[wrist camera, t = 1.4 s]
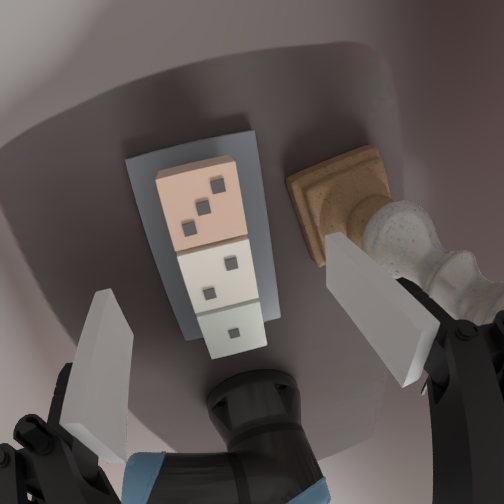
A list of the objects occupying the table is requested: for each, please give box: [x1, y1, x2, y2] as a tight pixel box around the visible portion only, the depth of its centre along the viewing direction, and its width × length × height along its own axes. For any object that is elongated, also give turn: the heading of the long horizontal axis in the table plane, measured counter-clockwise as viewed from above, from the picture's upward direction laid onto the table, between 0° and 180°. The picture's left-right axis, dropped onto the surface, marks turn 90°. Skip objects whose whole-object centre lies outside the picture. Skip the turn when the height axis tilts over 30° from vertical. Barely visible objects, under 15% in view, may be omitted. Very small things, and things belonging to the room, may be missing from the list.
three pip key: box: [155, 155, 248, 252], centre depth 24 cm, size 6×6×4 cm
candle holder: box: [285, 145, 504, 326], centre depth 22 cm, size 11×11×24 cm
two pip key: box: [177, 234, 259, 314], centre depth 27 cm, size 6×6×4 cm
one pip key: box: [196, 298, 267, 359], centre depth 30 cm, size 6×6×4 cm
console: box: [125, 130, 281, 341], centre depth 29 cm, size 22×12×4 cm, turn 9°
